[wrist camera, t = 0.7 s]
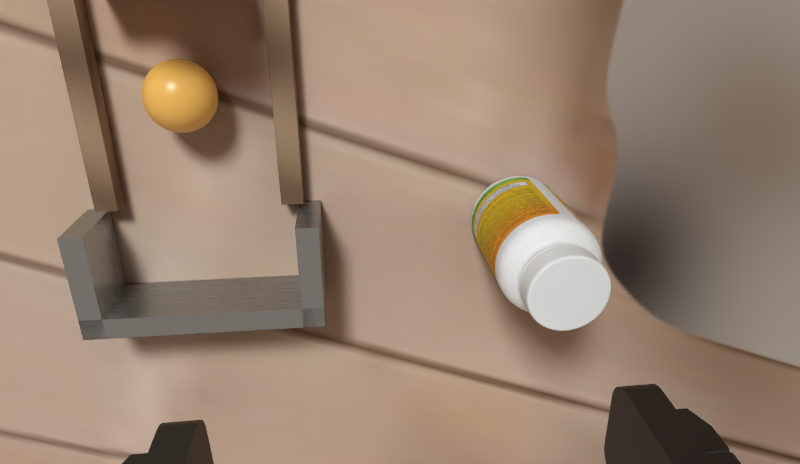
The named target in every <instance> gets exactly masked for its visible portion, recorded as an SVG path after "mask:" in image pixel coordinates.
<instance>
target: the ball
mask: <svg viewBox="0 0 800 464" xmlns="http://www.w3.org/2000/svg"><path fill="white" fill-rule="evenodd" d="M142 100H143V104H144V107H145V109H146V111H147V113H148V115H149V116H150V117H151V118H152V120H153V121H154V122H156V123H157V124H158V125H159V126H161V127H163V128H164V129H167V130H169V131H172V132H177V133H189V132H193V131H196V130H199V129H201V128H203V127H204V126H205V125H207V124H208V123H209V122H210V121H211V119H212V118H213V116H214V115H215V113H216V110H217V107H218V91H217V87H216V85H215V82H214V80H213V79H212V77H211V76H210V75H209V73H208V72H207V71H206V70H205V69H203V68H202V67H201V66H199V65H197V64H196V63H193V62H191V61H187V60H183V59H171V60H167V61H164V62H161V63H159V64H158V65H156V66H155V67H154V68H152V69H151V70H150V71H149V73H148V74H147V76H146V78H145V80H144V82H143V86H142Z"/></svg>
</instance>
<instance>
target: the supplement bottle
mask: <svg viewBox="0 0 800 464" xmlns="http://www.w3.org/2000/svg"><path fill="white" fill-rule="evenodd" d="M471 228H472V233H473V235H474V238H475V240H476V242H477V244H478V246H479V248H480V250H481V252H482V254H483V256H484V257H485V260H486V261H487V263H488V265H489V267H490V269H491V271H492V273H493V275H494V277H495V279H496V281H497V283H498V285H499V287H500V289H501V290H502V292H503V293H504V295H505V296H506V298H507V299H508V300H509V301H510V302H511V303H513V304H514V305H515V306H517V307H518V308H520V309H522V310H524V311H527V312H529V313H530V314H531V316H532V317H533V318H534V320H535V321H537V322H538V323H539V324H540V325H542V326H544V327H546V328H548V329H552V330H558V331H566V330H573V329H577V328H579V327H582V326H584V325H586V324H588V323H589V322H591V321H592V320H594V319H595V318H596V317H597V316H598V315H599V314H600V313H601V312H602V311H603V309H604V308H605V306H606V304H607V302H608V300H609V297H610V292H611V282H610V278H609V275H608V273H607V271H606V269H605V268H604V267H603V265H602V254H601V249H600V246H599V244H598V241H597V239H596V238H595V236H594V235H593V233H592V232H591V231H590V230H589V228H588V227H587V226H586V225H585V224H584V223H583V222H582V221H581V220H580V219H579V218H578V217H577V216H576V215H575V214H574V213H573V212H572V211H571V210H570V209H569V208H568V207H567V206H566V204H565V203H564V202H563V201H562V200H561V199H560V198H559V197H558V196H557V195H556V194H555V193H554V192H553V191H552V190H551V189H550V188H549V187H548V186H546V185H545V184H544V183H542V182H541V181H539V180H537V179H535V178H532V177H527V176H512V177H507V178H504V179H501V180H499V181H497V182H495V183H493V184H492V185H490V186H489V187H488V188H486V189H485V190H484V191H483V193H482V194H481V195H480V196H479V198H478V199H477V201H476V203H475V205H474V208H473V211H472V216H471Z"/></svg>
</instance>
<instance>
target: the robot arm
mask: <svg viewBox="0 0 800 464" xmlns="http://www.w3.org/2000/svg"><path fill="white" fill-rule="evenodd" d="M604 451H605V460H606V464H741V463H740V462H739V460H738V459H737V458H736V457H735V455H734V454H733V453H730V452H729V448H728V446H727V445H726V444H725V443H724V441H723V440H722V439H721V438H720V436H719V435H718V434H717V433H716V431H715V430H714V429H713V427H712V426H710V425H709V424H708V423H706V422H705V421H704V420H702V419H701V418H699V417H698V416H697V415H695V414H694V413H692V412H691V411H690V410H688V409H687V408H685V409H675V407H674V406H673V405H672V403H671V402H670V401H669V399H668V398H667V396H666V395H665V394H664V392H663V391H662V390H661V389H660V387H658V386H657V385H655V384H646V385H634V386H622V387H616V388H615V389H614V391H613V395H612V400H611V407H610V413H609V419H608V426H607V432H606V438H605V447H604ZM122 464H214V463H213V458H212V453H211V449H210V444H209V439H208V435H207V430H206V426H205V423H204V421H203V420H193V421H181V422H169V423H162V424H160V425H159V427H158V429H157V431H156V434H155V436H154V439H153V441H152V444H151V447H150V449H149V452H148V453H143V454H132V455H130V456H129V457H128V458H127V459H126V460H125V461H124V462H123V463H122Z"/></svg>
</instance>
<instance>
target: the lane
mask: <svg viewBox="0 0 800 464" xmlns="http://www.w3.org/2000/svg"><path fill="white" fill-rule="evenodd" d="M47 2H48V7H49V11H50V15H51V20H52V24H53V29H54V33H55V37H56V42H57V46H58V50H59V55H60V59H61V64H62V68H63V72H64V77H65V81H66V86H67V90H68V94H69V99H70V103H71V108H72V112H73V116H74V121H75V125H76V130H77V134H78V138H79V143H80V147H81V152H82V156H83V160H84V165H85V169H86V173H87V178H88V182H89V187H90V191H91V195H92V200H93V204H94V209H95V212H110V211H119V210H120V209H121V208H122V206H123V205H124V204H125V199H124V194H123V189H122V185H121V180H120V175H119V170H118V165H117V160H116V155H115V150H114V146H113V141H112V136H111V131H110V126H109V121H108V116H107V111H106V106H105V102H104V97H103V92H102V87H101V82H100V77H99V72H98V67H97V62H96V58H95V53H94V48H93V43H92V38H91V33H90V28H89V23H88V19H87V14H86V9H85V4H84V0H47ZM263 9H264V20H265V31H266V41H267V52H268V63H269V74H270V84H271V95H272V106H273V117H274V127H275V138H276V149H277V160H278V170H279V181H280V192H281V203H282V205H285V204H303V203H304V197H305V195H304V182H303V169H302V156H301V143H300V130H299V117H298V103H297V90H296V77H295V64H294V51H293V38H292V25H291V12H290V0H263Z"/></svg>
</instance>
